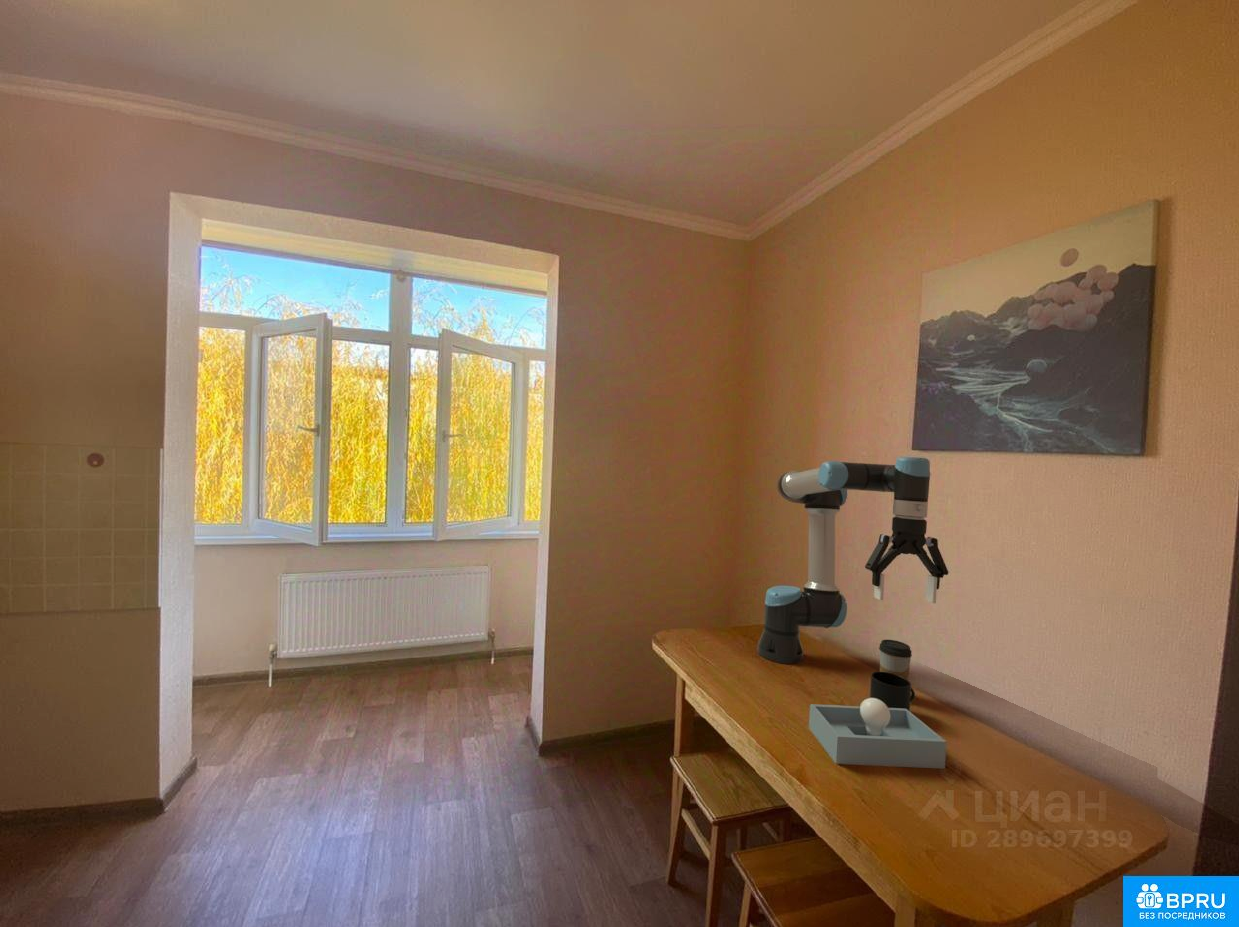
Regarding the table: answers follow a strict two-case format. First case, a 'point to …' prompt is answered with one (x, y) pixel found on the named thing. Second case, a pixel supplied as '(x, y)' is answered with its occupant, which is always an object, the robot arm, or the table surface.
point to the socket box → (876, 738)
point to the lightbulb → (874, 716)
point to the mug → (891, 690)
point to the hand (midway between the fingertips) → (904, 600)
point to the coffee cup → (895, 658)
